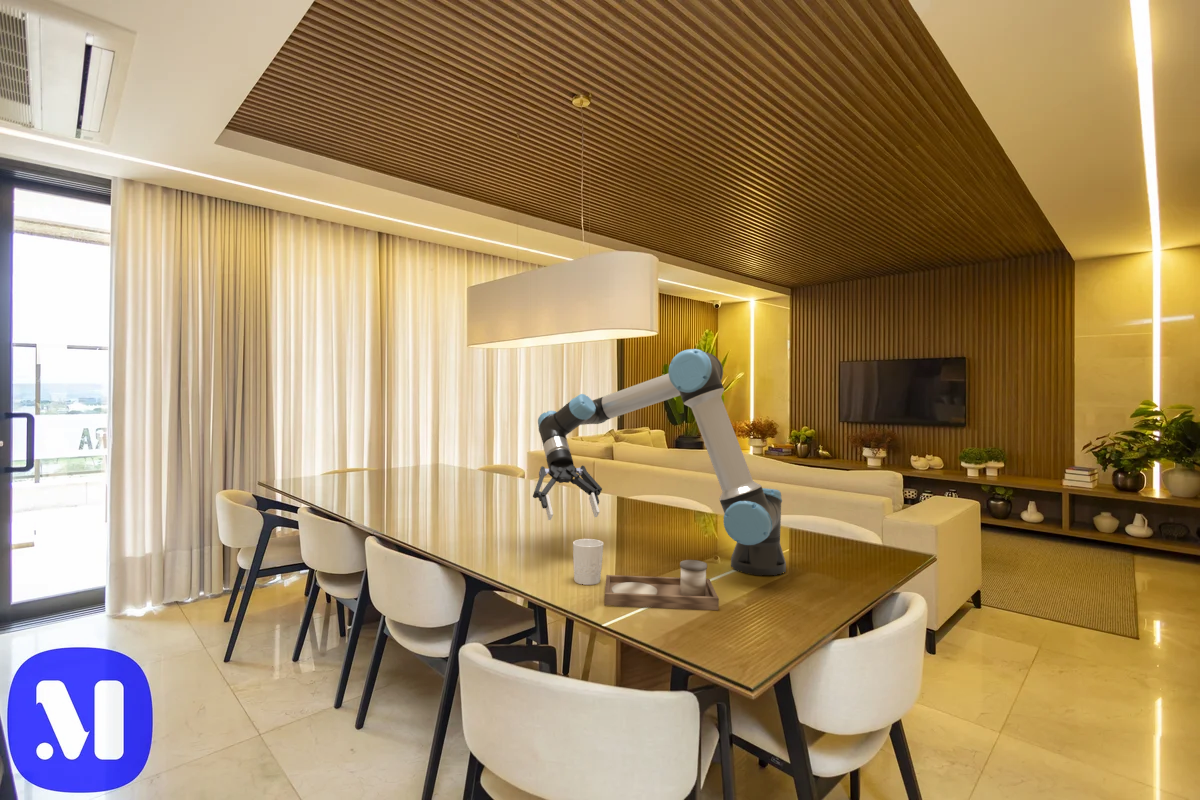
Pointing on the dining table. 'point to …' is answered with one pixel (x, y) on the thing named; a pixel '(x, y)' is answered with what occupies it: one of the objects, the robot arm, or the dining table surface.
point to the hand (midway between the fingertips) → (574, 516)
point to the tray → (664, 589)
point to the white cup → (587, 561)
